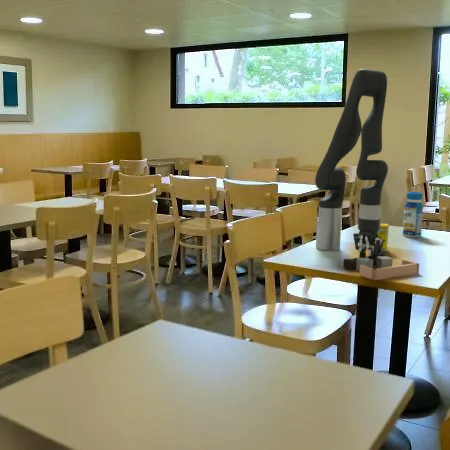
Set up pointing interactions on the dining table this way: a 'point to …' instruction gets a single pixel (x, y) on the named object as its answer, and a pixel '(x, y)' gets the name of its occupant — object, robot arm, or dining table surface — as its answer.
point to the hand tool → (351, 263)
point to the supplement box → (383, 236)
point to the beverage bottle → (413, 215)
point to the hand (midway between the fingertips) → (366, 263)
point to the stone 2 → (383, 262)
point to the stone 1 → (364, 263)
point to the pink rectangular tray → (390, 270)
